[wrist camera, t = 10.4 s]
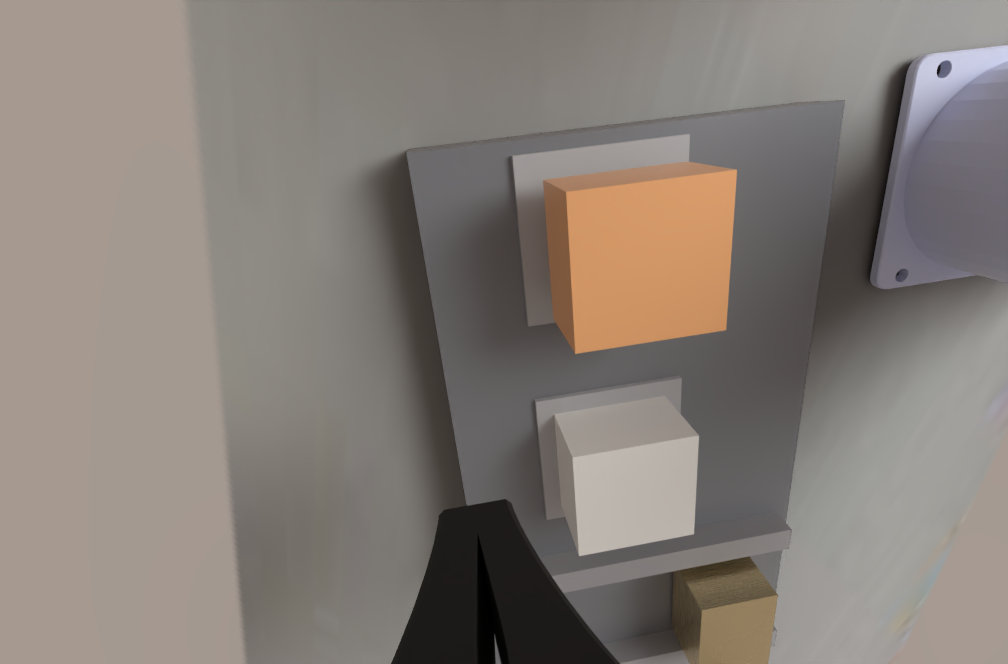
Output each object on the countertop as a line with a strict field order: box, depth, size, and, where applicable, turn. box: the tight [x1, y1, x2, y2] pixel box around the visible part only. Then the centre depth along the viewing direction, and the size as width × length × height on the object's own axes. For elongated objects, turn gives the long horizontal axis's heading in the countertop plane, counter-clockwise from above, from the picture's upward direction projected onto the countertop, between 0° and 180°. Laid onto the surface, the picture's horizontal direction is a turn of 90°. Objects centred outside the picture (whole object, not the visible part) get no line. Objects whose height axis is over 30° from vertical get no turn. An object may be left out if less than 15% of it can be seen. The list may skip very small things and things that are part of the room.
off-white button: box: [554, 396, 699, 556], centre depth 18 cm, size 4×4×2 cm
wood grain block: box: [672, 556, 778, 664], centre depth 21 cm, size 3×4×2 cm
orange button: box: [543, 161, 737, 354], centre depth 14 cm, size 4×4×2 cm
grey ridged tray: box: [406, 100, 845, 664], centre depth 20 cm, size 13×24×3 cm, turn 6°
